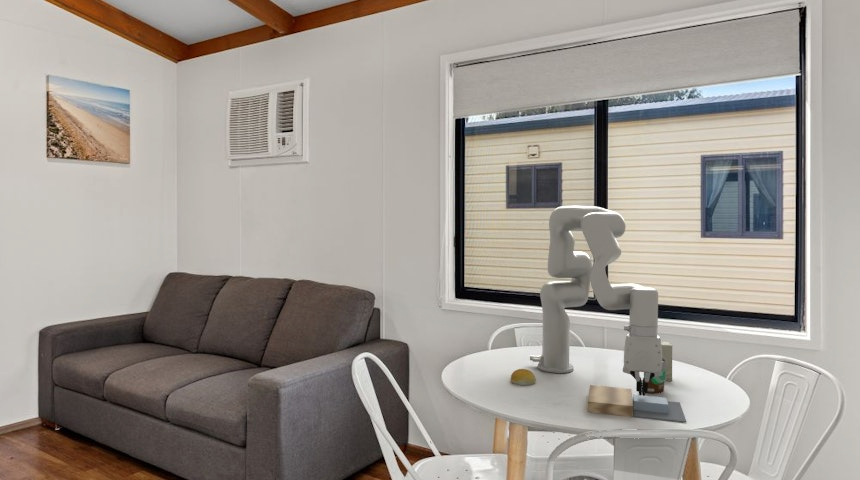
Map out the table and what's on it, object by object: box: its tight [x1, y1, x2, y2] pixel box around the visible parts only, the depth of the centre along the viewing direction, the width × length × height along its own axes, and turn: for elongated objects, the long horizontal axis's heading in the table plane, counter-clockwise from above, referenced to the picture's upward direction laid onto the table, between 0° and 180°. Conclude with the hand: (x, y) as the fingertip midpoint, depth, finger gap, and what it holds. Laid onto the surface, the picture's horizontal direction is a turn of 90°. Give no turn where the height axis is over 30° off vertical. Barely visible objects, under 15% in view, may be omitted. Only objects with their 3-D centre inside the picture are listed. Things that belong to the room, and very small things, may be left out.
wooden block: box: [586, 384, 634, 418], centre depth 162 cm, size 12×16×3 cm
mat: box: [633, 400, 687, 423], centre depth 158 cm, size 13×16×1 cm
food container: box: [643, 357, 668, 395], centre depth 176 cm, size 12×6×10 cm, turn 148°
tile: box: [632, 394, 668, 413], centre depth 159 cm, size 9×6×2 cm, turn 72°
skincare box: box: [661, 341, 673, 382], centre depth 189 cm, size 6×4×12 cm
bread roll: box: [510, 368, 537, 386], centre depth 185 cm, size 8×9×4 cm
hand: (641, 394), depth 159 cm, fingers closed
